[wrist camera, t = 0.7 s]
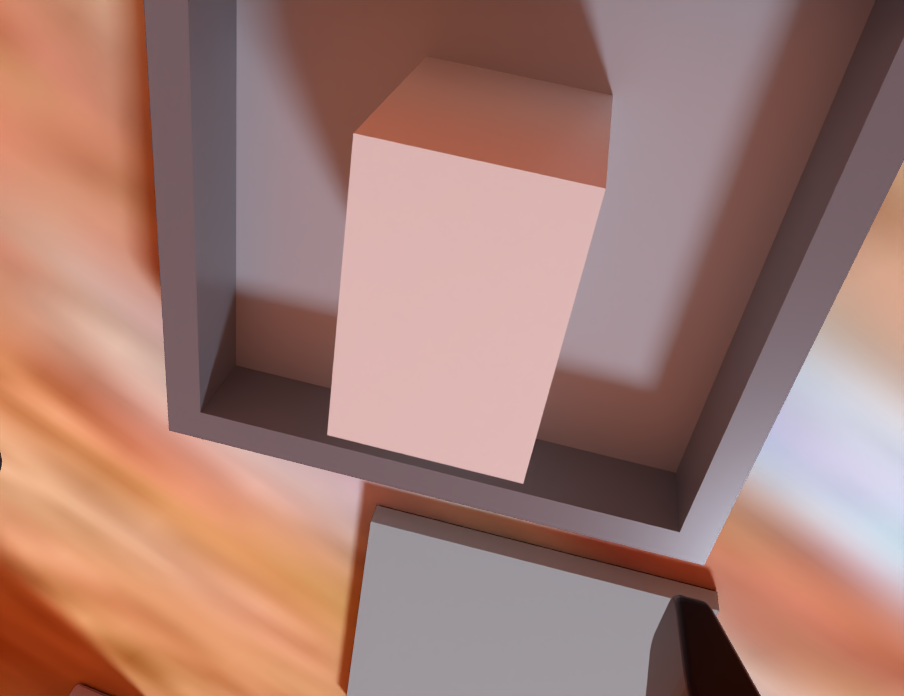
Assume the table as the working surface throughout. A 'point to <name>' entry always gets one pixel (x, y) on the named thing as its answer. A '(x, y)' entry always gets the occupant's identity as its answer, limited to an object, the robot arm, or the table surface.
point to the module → (464, 262)
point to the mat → (499, 616)
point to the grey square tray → (611, 249)
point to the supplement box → (85, 691)
